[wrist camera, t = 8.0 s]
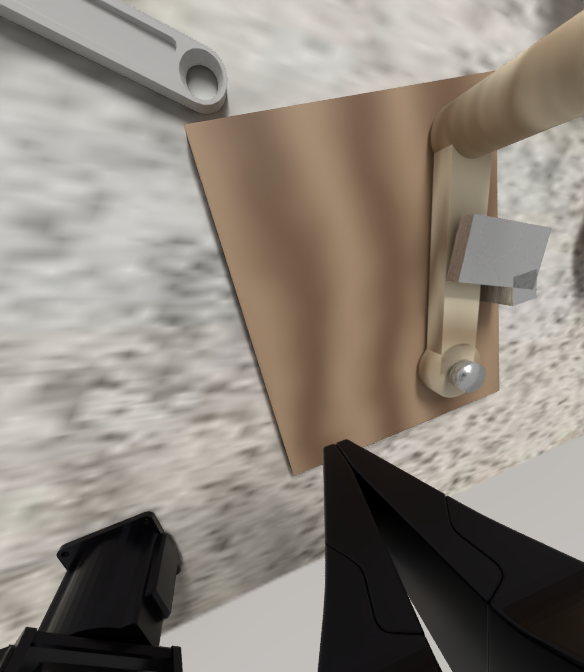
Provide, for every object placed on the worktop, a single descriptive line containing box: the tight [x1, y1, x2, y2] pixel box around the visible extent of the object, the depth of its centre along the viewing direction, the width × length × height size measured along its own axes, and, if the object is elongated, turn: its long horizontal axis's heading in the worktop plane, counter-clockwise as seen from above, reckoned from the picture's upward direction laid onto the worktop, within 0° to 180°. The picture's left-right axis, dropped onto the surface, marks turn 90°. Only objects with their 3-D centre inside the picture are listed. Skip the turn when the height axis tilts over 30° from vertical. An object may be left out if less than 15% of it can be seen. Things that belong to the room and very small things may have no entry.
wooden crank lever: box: [419, 10, 584, 398], centre depth 14 cm, size 20×4×13 cm, turn 6°
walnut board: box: [184, 71, 499, 476], centre depth 20 cm, size 20×24×1 cm
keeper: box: [446, 214, 551, 393], centre depth 20 cm, size 8×12×3 cm, turn 14°
